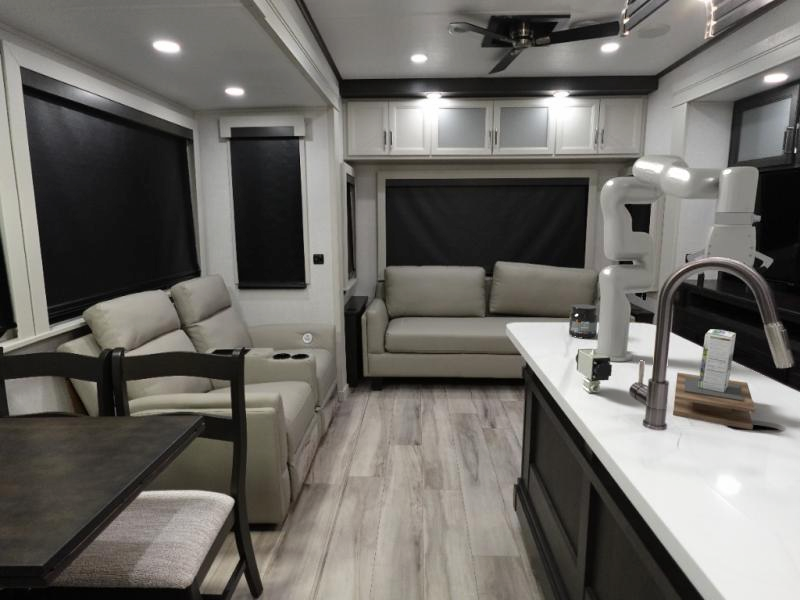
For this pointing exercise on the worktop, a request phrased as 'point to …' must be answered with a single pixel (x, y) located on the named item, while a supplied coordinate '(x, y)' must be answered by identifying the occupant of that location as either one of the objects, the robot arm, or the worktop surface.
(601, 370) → the pneumatic valve
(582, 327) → the supplement container
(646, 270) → the robot arm
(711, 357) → the syrup box
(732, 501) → the worktop surface
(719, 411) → the walnut stand
